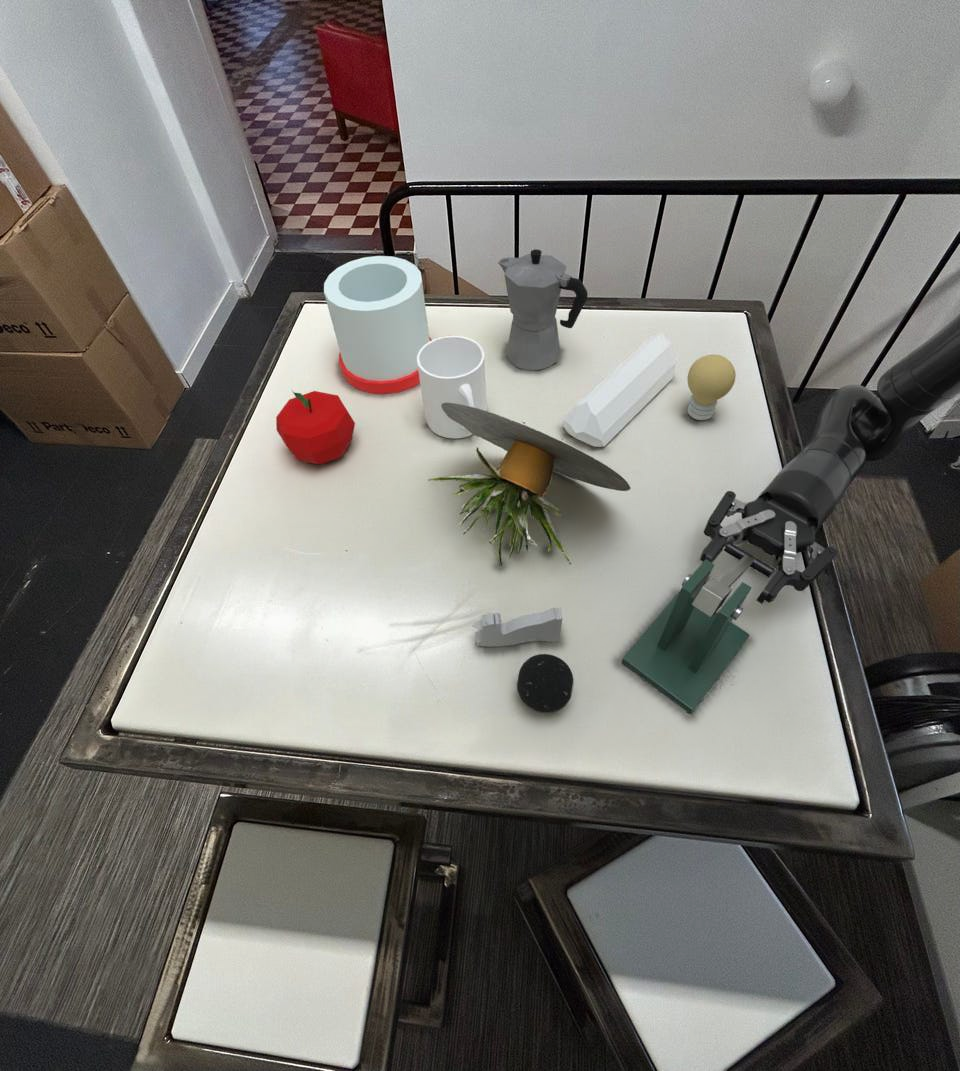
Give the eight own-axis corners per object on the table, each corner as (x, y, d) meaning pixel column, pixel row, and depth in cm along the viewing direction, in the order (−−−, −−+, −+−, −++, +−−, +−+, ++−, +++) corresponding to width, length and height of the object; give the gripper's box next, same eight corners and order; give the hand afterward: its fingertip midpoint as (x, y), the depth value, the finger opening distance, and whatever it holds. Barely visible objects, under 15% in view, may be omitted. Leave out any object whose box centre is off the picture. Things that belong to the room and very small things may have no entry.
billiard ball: (522, 664, 70) (522, 640, 65) (574, 674, 69) (579, 650, 64) (512, 714, 66) (512, 693, 61) (567, 725, 65) (571, 705, 60)
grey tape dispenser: (558, 642, 71) (473, 649, 71) (557, 631, 72) (472, 638, 72) (562, 618, 67) (471, 625, 66) (560, 607, 67) (470, 614, 67)
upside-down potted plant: (435, 509, 93) (354, 513, 69) (485, 403, 90) (419, 368, 66) (581, 590, 87) (548, 624, 63) (641, 479, 84) (629, 471, 60)
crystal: (609, 445, 84) (696, 357, 94) (574, 406, 84) (665, 322, 94) (582, 464, 91) (666, 381, 101) (550, 429, 91) (637, 348, 101)
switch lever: (723, 552, 70) (733, 536, 69) (768, 579, 68) (779, 563, 67) (676, 595, 61) (687, 577, 60) (726, 627, 59) (738, 609, 57)
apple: (373, 443, 92) (359, 391, 84) (319, 485, 87) (299, 434, 79) (326, 414, 96) (310, 361, 88) (273, 452, 92) (250, 401, 84)
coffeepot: (484, 356, 103) (480, 253, 89) (515, 327, 108) (515, 225, 93) (564, 388, 98) (573, 283, 83) (592, 356, 102) (606, 252, 87)
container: (455, 354, 104) (447, 273, 92) (392, 407, 97) (375, 326, 85) (385, 323, 110) (370, 243, 98) (321, 370, 103) (297, 290, 91)
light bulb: (689, 432, 90) (706, 378, 82) (670, 405, 94) (685, 350, 86) (729, 423, 91) (749, 369, 83) (708, 396, 95) (726, 341, 87)
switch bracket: (679, 594, 74) (708, 525, 63) (747, 639, 70) (790, 573, 59) (620, 662, 69) (641, 600, 58) (690, 714, 65) (726, 658, 54)
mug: (461, 390, 98) (456, 327, 89) (510, 429, 92) (510, 366, 83) (414, 417, 95) (403, 355, 86) (461, 459, 89) (455, 397, 80)
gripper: (758, 444, 75) (683, 526, 68) (877, 504, 68) (808, 601, 62) (740, 485, 81) (669, 564, 74) (848, 543, 74) (781, 635, 68)
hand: (733, 580), depth 68 cm, fingers open, 6 cm apart
